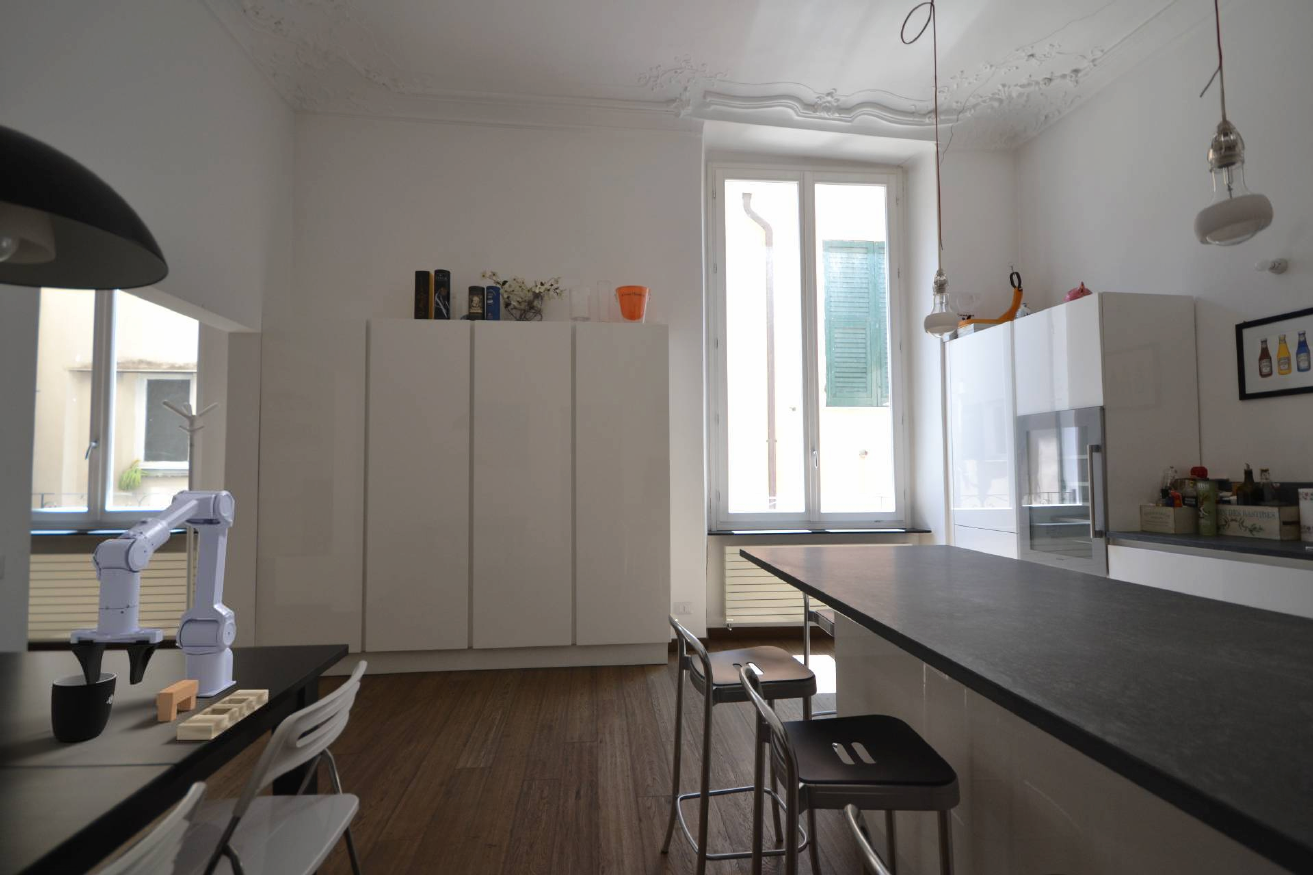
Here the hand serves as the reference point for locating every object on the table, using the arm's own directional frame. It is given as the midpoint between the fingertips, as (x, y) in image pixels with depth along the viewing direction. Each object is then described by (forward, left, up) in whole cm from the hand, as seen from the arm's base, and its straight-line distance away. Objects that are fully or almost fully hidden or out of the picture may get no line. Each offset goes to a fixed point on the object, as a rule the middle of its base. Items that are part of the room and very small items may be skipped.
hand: (114, 683), depth 121 cm
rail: (-11, +14, -10) cm, 20 cm away
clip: (-14, +3, -10) cm, 17 cm away
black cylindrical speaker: (-4, -8, -10) cm, 14 cm away
